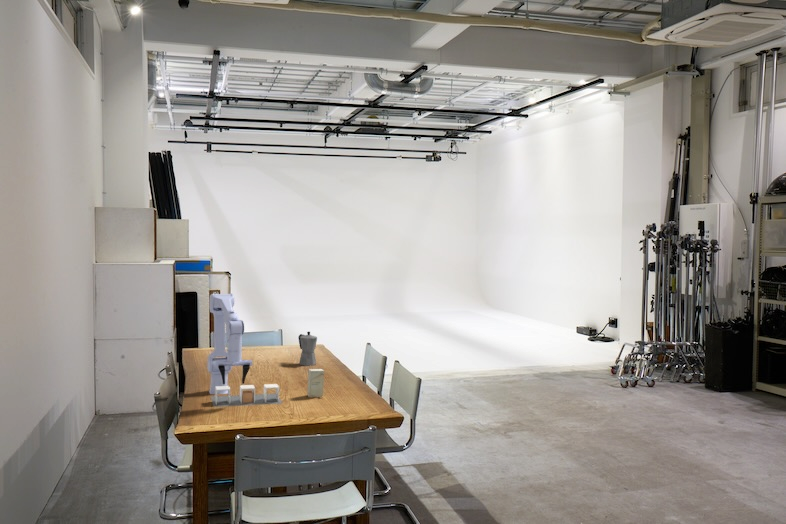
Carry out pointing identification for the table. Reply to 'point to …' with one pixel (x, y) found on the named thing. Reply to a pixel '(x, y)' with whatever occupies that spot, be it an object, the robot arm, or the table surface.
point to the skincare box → (315, 382)
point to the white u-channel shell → (247, 387)
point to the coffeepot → (307, 349)
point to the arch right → (271, 386)
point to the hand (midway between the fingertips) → (233, 383)
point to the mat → (236, 402)
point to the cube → (247, 396)
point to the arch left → (222, 388)
